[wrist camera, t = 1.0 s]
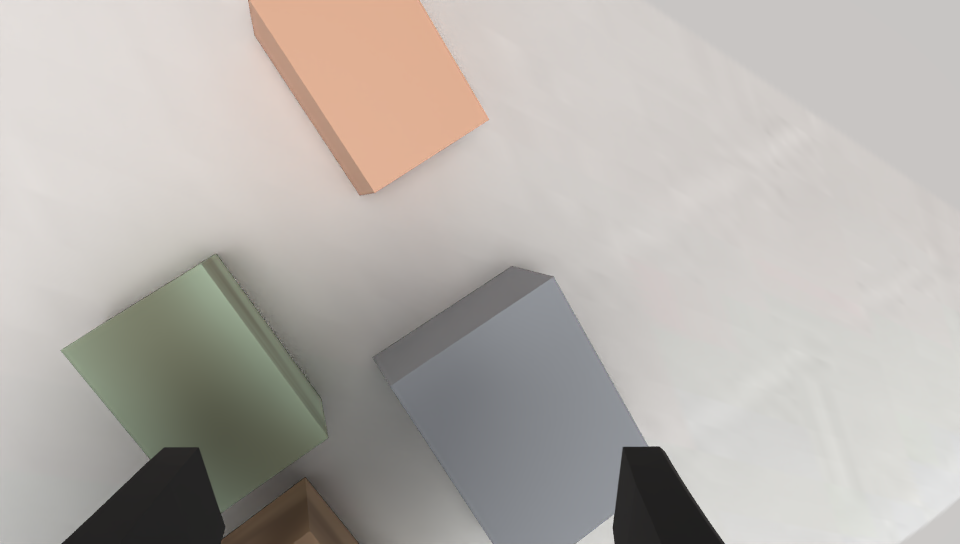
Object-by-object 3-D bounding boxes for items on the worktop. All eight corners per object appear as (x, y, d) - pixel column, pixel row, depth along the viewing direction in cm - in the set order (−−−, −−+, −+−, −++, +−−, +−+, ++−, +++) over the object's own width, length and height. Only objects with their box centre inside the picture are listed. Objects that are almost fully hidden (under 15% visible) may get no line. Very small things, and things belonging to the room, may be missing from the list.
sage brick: (218, 470, 22) (204, 525, 18) (102, 323, 21) (60, 350, 17) (321, 399, 23) (328, 437, 19) (215, 253, 21) (201, 263, 18)
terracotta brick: (359, 195, 22) (374, 192, 19) (254, 35, 21) (247, -4, 17) (455, 133, 23) (489, 119, 19) (360, -25, 22) (375, -75, 18)
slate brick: (484, 528, 25) (520, 586, 21) (372, 357, 23) (390, 386, 19) (609, 436, 26) (664, 474, 22) (511, 266, 24) (553, 276, 21)
